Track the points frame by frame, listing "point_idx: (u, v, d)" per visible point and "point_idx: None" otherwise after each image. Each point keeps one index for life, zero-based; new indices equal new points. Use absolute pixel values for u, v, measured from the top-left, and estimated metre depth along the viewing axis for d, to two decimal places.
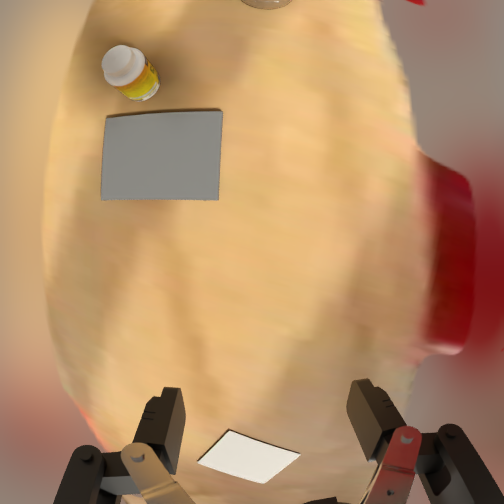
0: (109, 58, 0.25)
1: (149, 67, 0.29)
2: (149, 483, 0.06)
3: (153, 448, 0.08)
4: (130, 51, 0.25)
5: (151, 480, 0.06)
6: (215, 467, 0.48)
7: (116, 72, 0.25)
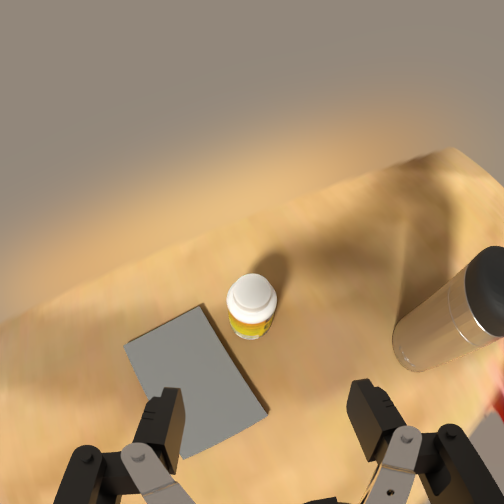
0: (249, 282, 0.30)
1: (266, 323, 0.32)
2: (149, 483, 0.06)
3: (153, 448, 0.08)
4: (267, 300, 0.29)
5: (151, 480, 0.06)
6: None
7: (238, 302, 0.29)
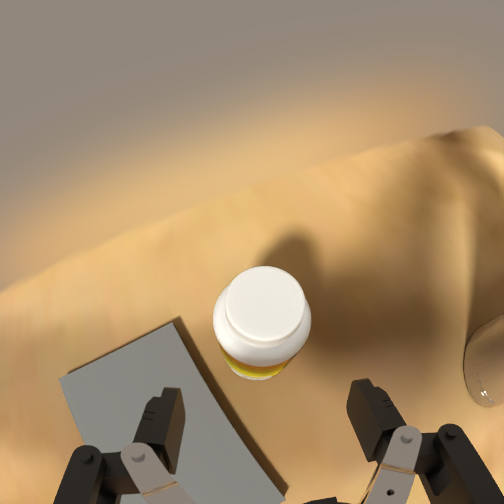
0: (258, 284, 0.14)
1: (288, 361, 0.17)
2: (149, 483, 0.06)
3: (153, 448, 0.08)
4: (297, 323, 0.13)
5: (151, 480, 0.06)
6: None
7: (234, 328, 0.13)
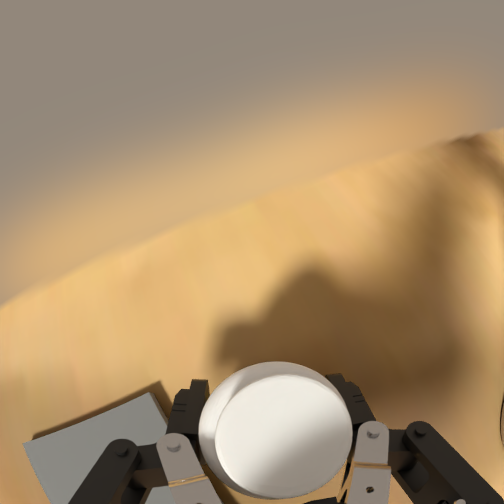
0: (274, 410, 0.07)
1: None
2: (188, 472, 0.07)
3: (187, 438, 0.09)
4: (338, 468, 0.06)
5: (182, 471, 0.07)
6: None
7: (233, 480, 0.06)
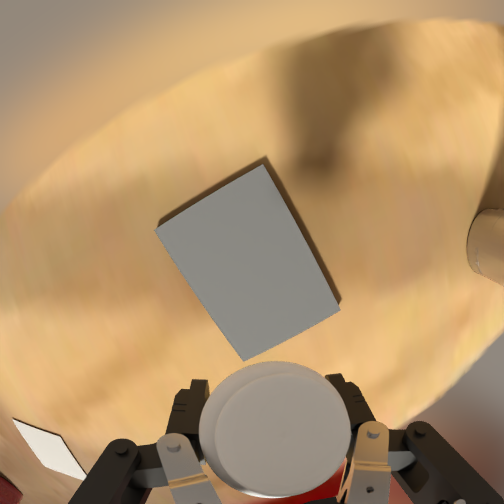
0: (273, 409, 0.07)
1: None
2: (189, 472, 0.07)
3: (187, 438, 0.09)
4: (336, 467, 0.06)
5: (182, 471, 0.07)
6: (22, 432, 0.35)
7: (233, 478, 0.06)
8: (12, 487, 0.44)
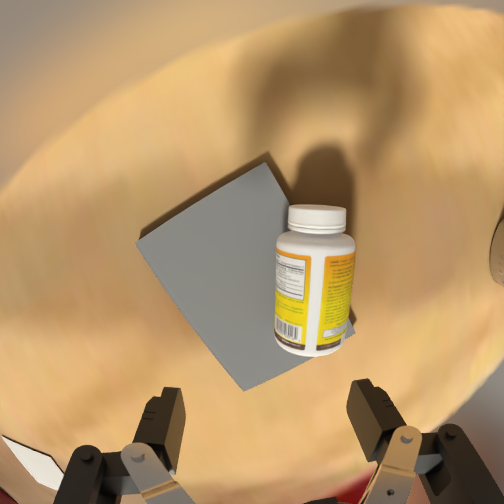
0: (305, 206, 0.19)
1: None
2: (149, 483, 0.06)
3: (153, 448, 0.08)
4: (328, 206, 0.21)
5: (151, 480, 0.06)
6: (13, 449, 0.30)
7: (341, 211, 0.18)
8: (8, 498, 0.39)
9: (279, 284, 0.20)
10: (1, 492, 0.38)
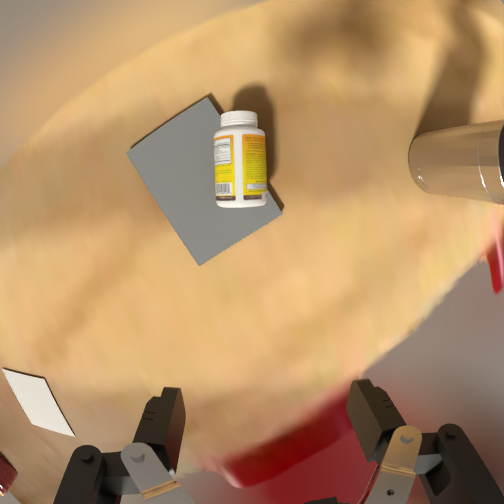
0: None
1: None
2: (149, 483, 0.06)
3: (153, 448, 0.08)
4: None
5: (151, 480, 0.06)
6: (11, 383, 0.41)
7: (252, 112, 0.28)
8: (6, 464, 0.50)
9: (216, 160, 0.29)
10: (0, 458, 0.49)
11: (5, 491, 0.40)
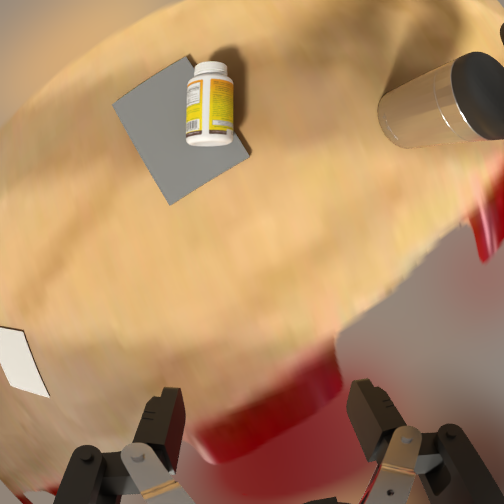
0: None
1: None
2: (149, 483, 0.06)
3: (153, 448, 0.08)
4: None
5: (151, 480, 0.06)
6: None
7: (221, 63, 0.29)
8: None
9: (187, 102, 0.30)
10: None
11: None
